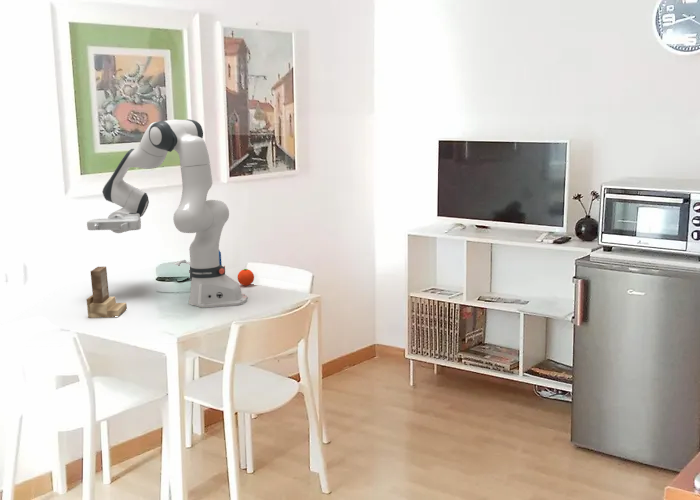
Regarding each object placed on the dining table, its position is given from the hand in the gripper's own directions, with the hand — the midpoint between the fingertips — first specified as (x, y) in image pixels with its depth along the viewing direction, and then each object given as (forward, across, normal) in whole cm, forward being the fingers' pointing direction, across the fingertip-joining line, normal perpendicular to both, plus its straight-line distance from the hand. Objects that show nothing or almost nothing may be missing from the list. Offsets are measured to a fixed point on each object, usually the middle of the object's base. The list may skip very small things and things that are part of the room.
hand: (108, 227), depth 306 cm
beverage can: (-42, +32, +30) cm, 60 cm away
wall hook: (-36, +22, +30) cm, 52 cm away
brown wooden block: (+15, 0, +25) cm, 29 cm away
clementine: (-25, +48, +30) cm, 62 cm away
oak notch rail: (+15, +2, +30) cm, 34 cm away
